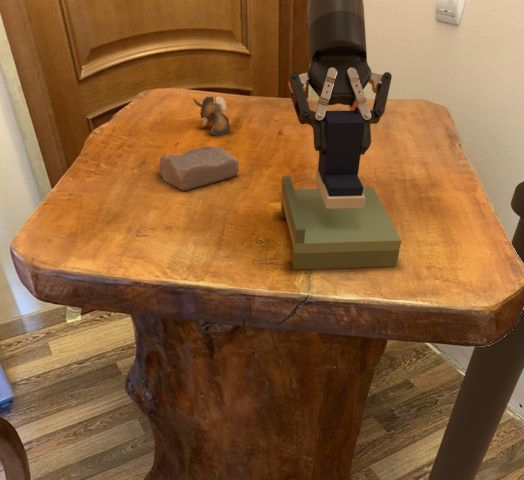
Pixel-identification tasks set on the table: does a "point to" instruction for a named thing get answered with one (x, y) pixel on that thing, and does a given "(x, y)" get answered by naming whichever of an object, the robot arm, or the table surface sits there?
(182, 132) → the table surface
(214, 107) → the brown animal figurine
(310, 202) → the green flanged plate
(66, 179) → the table surface
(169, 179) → the stone block
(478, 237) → the table surface
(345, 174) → the high-top shoe
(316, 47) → the robot arm
